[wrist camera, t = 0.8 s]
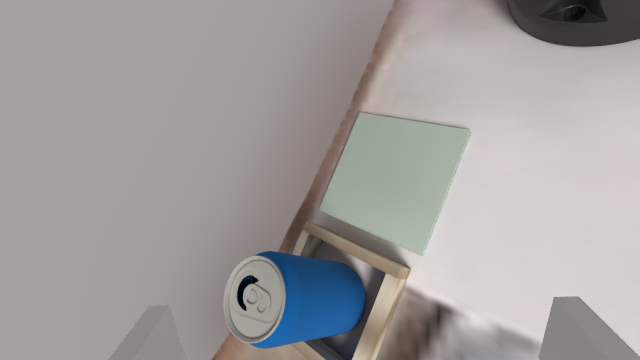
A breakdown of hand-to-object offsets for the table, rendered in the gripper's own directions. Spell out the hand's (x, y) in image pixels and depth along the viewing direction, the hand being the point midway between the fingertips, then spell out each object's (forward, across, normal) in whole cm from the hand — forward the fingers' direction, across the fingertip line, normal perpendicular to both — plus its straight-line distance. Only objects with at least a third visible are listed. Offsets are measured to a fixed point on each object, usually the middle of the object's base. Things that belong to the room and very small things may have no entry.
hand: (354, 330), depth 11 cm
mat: (+21, +5, -3) cm, 22 cm away
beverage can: (+16, -1, -13) cm, 21 cm away
